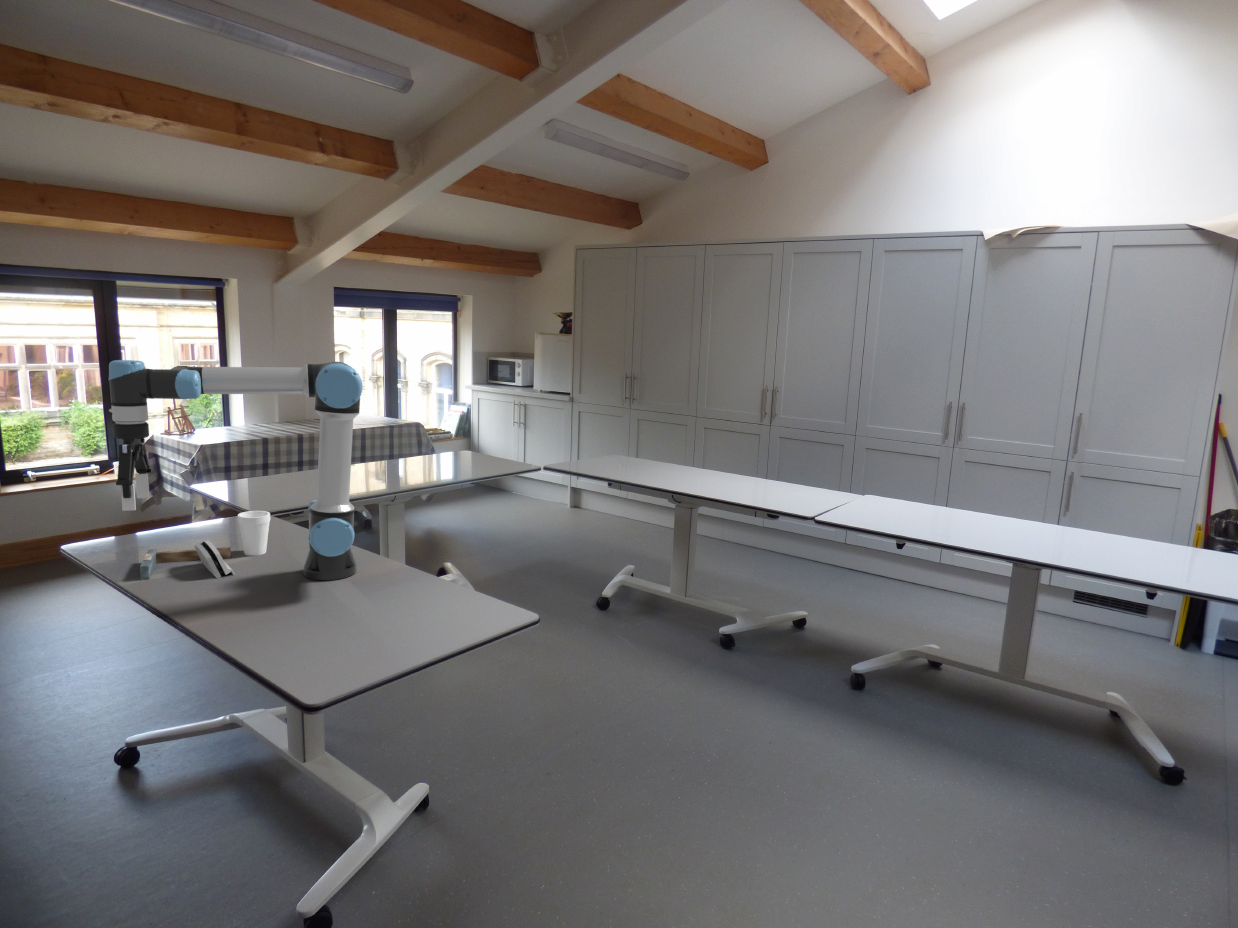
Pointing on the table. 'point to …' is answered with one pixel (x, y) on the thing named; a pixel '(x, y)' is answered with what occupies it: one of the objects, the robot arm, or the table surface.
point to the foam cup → (254, 531)
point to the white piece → (212, 559)
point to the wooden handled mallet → (172, 558)
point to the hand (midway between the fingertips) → (136, 503)
